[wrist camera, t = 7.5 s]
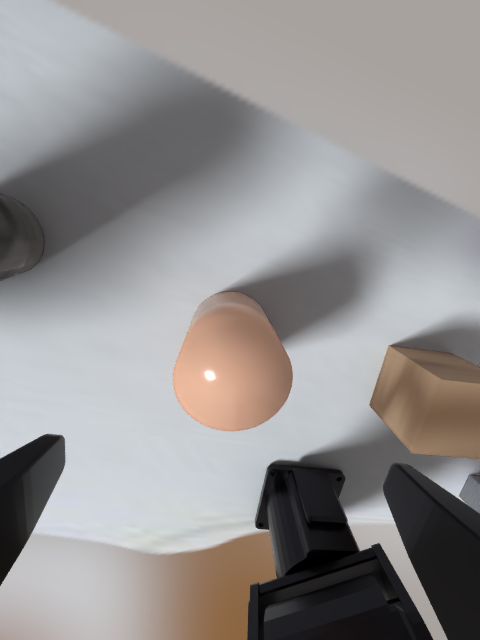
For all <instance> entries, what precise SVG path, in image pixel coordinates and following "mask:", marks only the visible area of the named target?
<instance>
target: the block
mask: <svg viewBox="0 0 480 640" xmlns="http://www.w3.org/2000/svg"><path fill="white" fill-rule="evenodd" d="M369 405H370V407H371V408H372V409H373V410H374V411H375V412H376V413H377V415H378V416H379V417H380V418H381V419H382V420H383V421H384V423H385V424H386V425H387V426H388V427H389V428H390V429H391V430H392V432H393V433H394V434H395V435H396V436H397V437H398V438H399V440H400V441H401V442H402V443H403V444H404V445H405V446H406V448H407V449H408V450H409V451H410V452H411V453H412V454H424V455H436V456H448V457H460V458H473V459H480V367H478V366H476V365H474V364H472V363H470V362H468V361H466V360H464V359H462V358H460V357H458V356H456V355H454V354H452V353H444V352H436V351H428V350H420V349H412V348H404V347H396V346H388V349H387V352H386V356H385V359H384V362H383V365H382V368H381V371H380V374H379V377H378V380H377V383H376V386H375V389H374V392H373V395H372V398H371V401H370V404H369Z"/></svg>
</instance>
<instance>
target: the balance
mask: <svg viewBox="0 0 480 640" xmlns="http://www.w3.org/2000/svg"><path fill="white" fill-rule="evenodd" d="M459 496H460V498H461V499H462V500H463V501H464V502H465V503H466V504H467V505H468V506H470V507H471V508H472V509H474V510H475V511H477V512H478V513H480V476H475V475H469V477H468V479H467V481H466V483H465V485H464V487H463V489H462V491H461V493H460V495H459Z"/></svg>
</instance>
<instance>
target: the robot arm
mask: <svg viewBox="0 0 480 640" xmlns="http://www.w3.org/2000/svg"><path fill="white" fill-rule="evenodd" d="M64 466H65V439H64V437H63V436H62V435H55V434H45V435H43V436H41V437H39V438H37V439H35V440H33V441H32V442H30V443H28V444H26V445H24V446H23V447H21V448H19V449H17V450H15V451H13V452H12V453H10V454H8V455H6V456H4V457H2V458H1V459H0V586H1V584H2V582H3V581H4V579H5V577H6V576H7V574H8V572H9V571H10V569H11V568H12V566H13V564H14V562H15V561H16V559H17V558H18V556H19V554H20V553H21V551H22V549H23V548H24V546H25V544H26V543H27V541H28V539H29V537H30V535H31V533H32V531H33V530H34V528H35V526H36V524H37V522H38V520H39V518H40V516H41V514H42V512H43V510H44V508H45V506H46V504H47V502H48V500H49V498H50V496H51V494H52V492H53V490H54V488H55V486H56V484H57V481H58V479H59V477H60V475H61V473H62V471H63V469H64ZM273 471H275V472H273ZM344 481H345V476H344V474H343V472H342V471H340V470H330V469H318V468H306V467H294V466H282V465H271V466H269V467H268V468H267V471H266V475H265V479H264V484H263V488H262V492H261V496H260V501H259V505H258V509H257V513H256V518H255V526H256V528H258V529H267V530H269V532H270V538H271V544H272V551H273V557H274V563H275V569H276V576H277V578H276V579H273V580H270V581H268V582H264V583H261V584H259V583H255V584H252V585H250V601H249V606H248V640H433V638H432V636H431V634H430V632H429V630H428V628H427V627H426V625H425V623H424V621H423V619H422V617H421V615H420V614H419V612H418V610H417V608H416V606H415V605H414V603H413V601H412V599H411V598H410V596H409V594H408V592H407V591H406V589H405V587H404V585H403V584H402V582H401V580H400V579H399V577H398V575H397V573H396V571H395V570H394V568H393V566H392V565H391V563H390V561H389V559H388V557H387V556H386V554H385V552H384V550H383V549H382V547H381V545H380V544H379V543H378V544H375V545H372V546H371V547H372V548H369V549H365V550H362V551H360V550H359V547H358V545H357V543H356V541H355V538H354V536H353V534H352V531H351V529H350V527H349V525H348V522H347V521H348V520H347V517H346V515H345V513H344V510H343V508H342V506H341V504H340V501H339V496H340V493H341V490H342V487H343V484H344ZM383 491H384V495H385V497H386V500H387V503H388V505H389V508H390V510H391V513H392V516H393V518H394V521H395V523H396V526H397V528H398V531H399V533H400V536H401V539H402V541H403V544H404V546H405V549H406V551H407V554H408V556H409V558H410V560H411V563H412V565H413V567H414V569H415V571H416V573H417V575H418V578H419V580H420V582H421V584H422V586H423V588H424V590H425V592H426V595H427V597H428V599H429V601H430V603H431V605H432V607H433V609H434V611H435V613H436V615H437V618H438V620H439V622H440V624H441V626H442V628H443V630H444V632H445V634H446V637H447V639H448V640H480V513H478V512H477V511H475V510H474V509H472V508H471V507H470V506H468V505H467V504H465V503H464V502H462V501H461V500H459V499H458V498H456V497H455V496H454V495H452V494H451V493H449V492H448V491H446V490H445V489H443V488H442V487H440V486H439V485H438V484H436V483H435V482H433V481H432V480H430V479H429V478H427V477H426V476H424V475H423V474H422V473H420V472H419V471H417V470H416V469H414V468H413V467H411V466H410V465H408V464H401V463H394V464H392V465H391V467H390V469H389V472H388V474H387V477H386V479H385V482H384V485H383Z"/></svg>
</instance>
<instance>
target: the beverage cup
mask: <svg viewBox="0 0 480 640" xmlns="http://www.w3.org/2000/svg"><path fill="white" fill-rule="evenodd" d="M43 249H44V237H43V233H42V229H41V226H40V225H39V223H38V221H37V219H36V218H35V216H34V215H33V214H32V213H31V212H30V211H29V210H28V209H27V207H26V206H25V205H23V204H22V203H20V202H18V201H17V200H15V199H13V198H12V197H8V196H4V195H2V194H0V281H1V280H4V279H6V278H9V277H11V276H14V275H15V274H19V273H22V272H25V271H27V270H30V269H31V268H32V267H33V266H35V265H36V264H37V263H38V262H39V260H40V258H41V255H42V253H43Z"/></svg>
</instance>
